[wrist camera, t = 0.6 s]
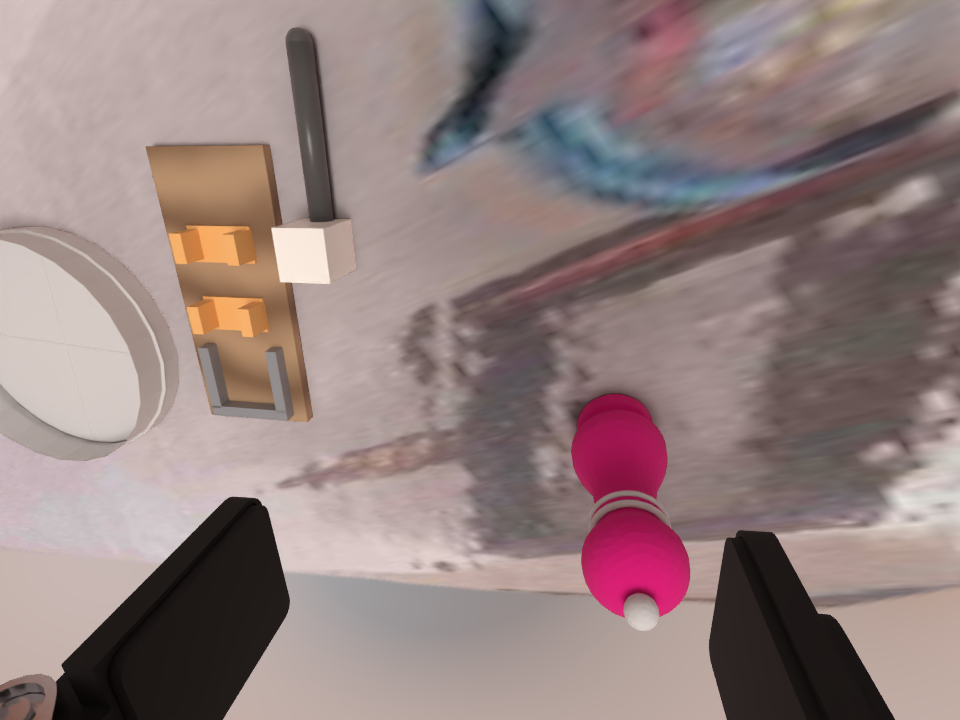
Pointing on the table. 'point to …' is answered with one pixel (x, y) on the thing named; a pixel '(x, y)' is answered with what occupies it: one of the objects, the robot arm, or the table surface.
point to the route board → (231, 202)
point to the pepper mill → (628, 513)
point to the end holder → (241, 408)
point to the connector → (311, 186)
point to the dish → (78, 347)
